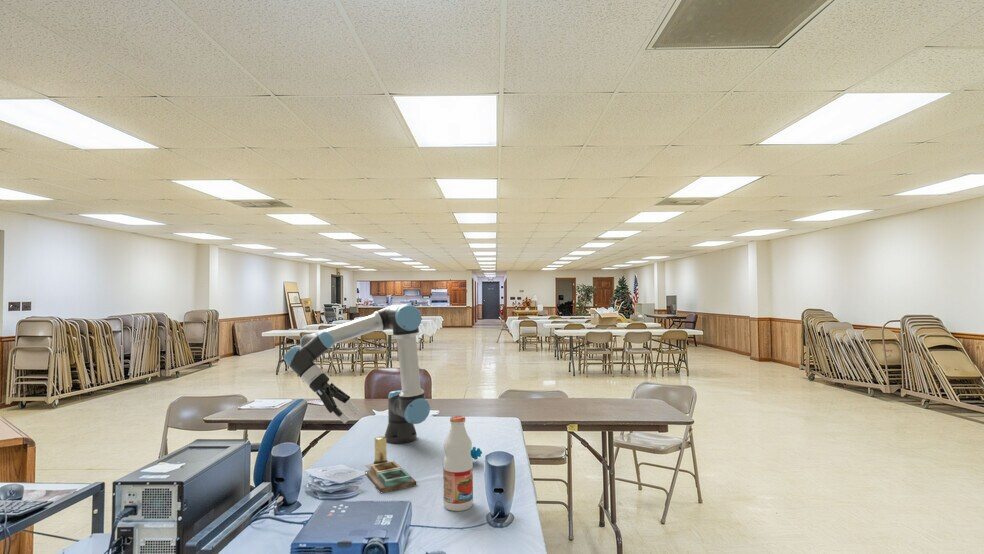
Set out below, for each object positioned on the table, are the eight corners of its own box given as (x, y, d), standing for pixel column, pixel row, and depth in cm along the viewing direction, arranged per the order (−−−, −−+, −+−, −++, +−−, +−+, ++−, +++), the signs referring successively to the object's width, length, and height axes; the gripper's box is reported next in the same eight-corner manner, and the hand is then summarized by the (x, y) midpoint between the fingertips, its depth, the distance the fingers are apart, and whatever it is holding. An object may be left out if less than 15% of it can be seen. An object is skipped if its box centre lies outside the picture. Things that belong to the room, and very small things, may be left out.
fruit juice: (451, 497, 159) (451, 412, 160) (477, 501, 155) (476, 414, 157) (438, 509, 150) (437, 419, 151) (465, 513, 146) (464, 421, 148)
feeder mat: (389, 462, 195) (389, 460, 195) (396, 468, 187) (396, 467, 187) (364, 466, 190) (364, 465, 190) (371, 473, 182) (371, 472, 182)
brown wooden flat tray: (398, 468, 187) (398, 459, 187) (416, 485, 170) (416, 475, 170) (365, 475, 181) (365, 465, 181) (380, 493, 163) (380, 482, 163)
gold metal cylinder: (385, 463, 192) (385, 435, 193) (389, 466, 188) (389, 438, 188) (372, 465, 190) (372, 437, 190) (375, 469, 185) (376, 440, 186)
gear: (482, 455, 197) (480, 443, 190) (484, 469, 192) (482, 457, 186) (456, 459, 196) (452, 447, 190) (457, 473, 192) (453, 462, 185)
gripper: (320, 380, 203) (354, 416, 202) (296, 391, 178) (335, 432, 177) (333, 368, 203) (367, 403, 202) (310, 376, 178) (349, 417, 177)
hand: (352, 417), depth 189 cm, fingers open, 13 cm apart
